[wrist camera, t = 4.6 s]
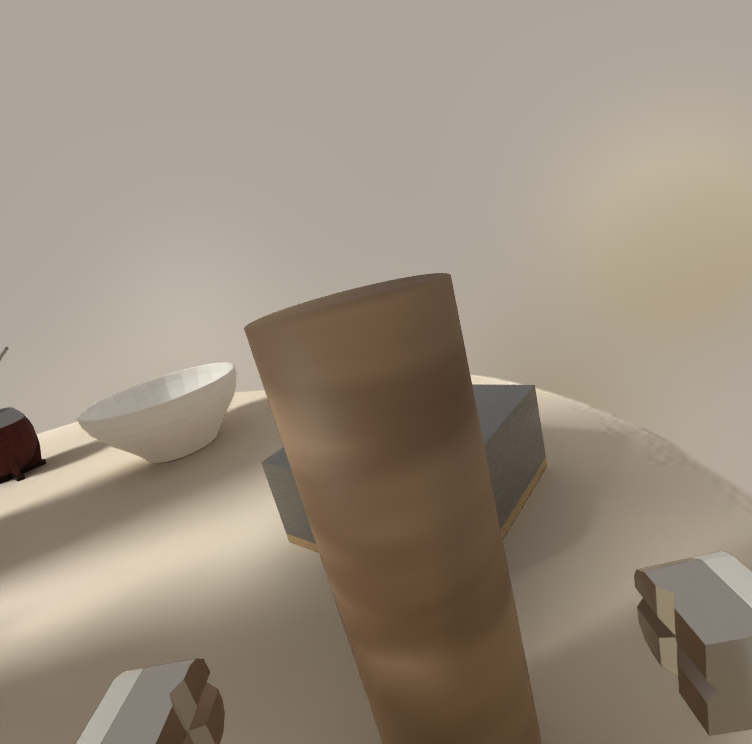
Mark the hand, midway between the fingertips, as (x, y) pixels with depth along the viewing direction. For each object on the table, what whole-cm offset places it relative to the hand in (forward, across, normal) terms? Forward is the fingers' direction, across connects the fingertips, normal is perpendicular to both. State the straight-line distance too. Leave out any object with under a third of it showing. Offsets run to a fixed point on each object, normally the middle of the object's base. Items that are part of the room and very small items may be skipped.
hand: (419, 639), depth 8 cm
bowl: (+39, +25, +9) cm, 47 cm away
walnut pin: (+3, 0, +9) cm, 9 cm away
